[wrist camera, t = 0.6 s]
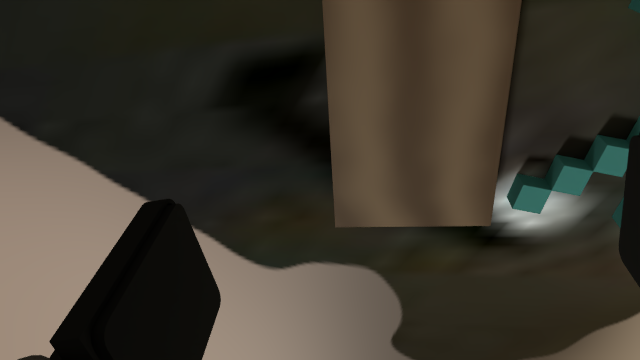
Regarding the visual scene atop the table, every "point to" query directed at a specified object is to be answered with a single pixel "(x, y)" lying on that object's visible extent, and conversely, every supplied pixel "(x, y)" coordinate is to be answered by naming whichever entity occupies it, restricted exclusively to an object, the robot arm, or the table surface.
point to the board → (417, 108)
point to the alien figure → (575, 170)
